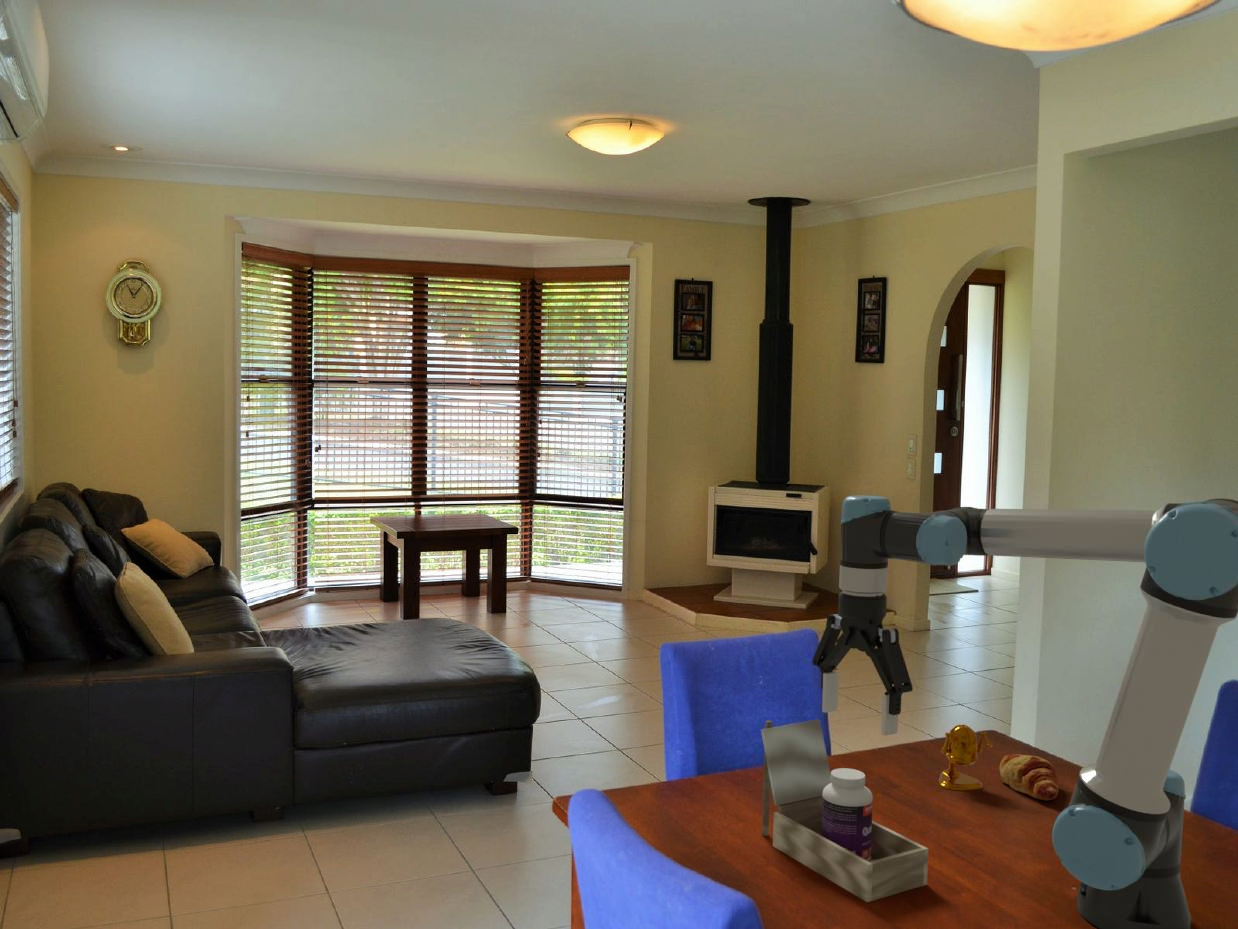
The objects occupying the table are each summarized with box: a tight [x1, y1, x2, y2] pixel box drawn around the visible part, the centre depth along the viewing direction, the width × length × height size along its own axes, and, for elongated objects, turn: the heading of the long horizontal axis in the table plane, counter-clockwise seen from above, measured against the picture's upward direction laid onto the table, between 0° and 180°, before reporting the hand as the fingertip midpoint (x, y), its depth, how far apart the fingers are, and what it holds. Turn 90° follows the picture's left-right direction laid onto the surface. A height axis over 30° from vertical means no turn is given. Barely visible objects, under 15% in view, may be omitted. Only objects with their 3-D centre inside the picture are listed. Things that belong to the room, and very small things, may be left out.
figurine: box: [938, 724, 994, 792], centre depth 213 cm, size 8×11×12 cm
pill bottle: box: [821, 767, 874, 862], centre depth 175 cm, size 8×8×14 cm
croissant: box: [999, 753, 1059, 801], centre depth 213 cm, size 21×10×8 cm, turn 4°
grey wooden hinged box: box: [760, 718, 929, 903], centre depth 177 cm, size 28×13×20 cm, turn 31°
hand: (858, 722), depth 174 cm, fingers open, 13 cm apart
